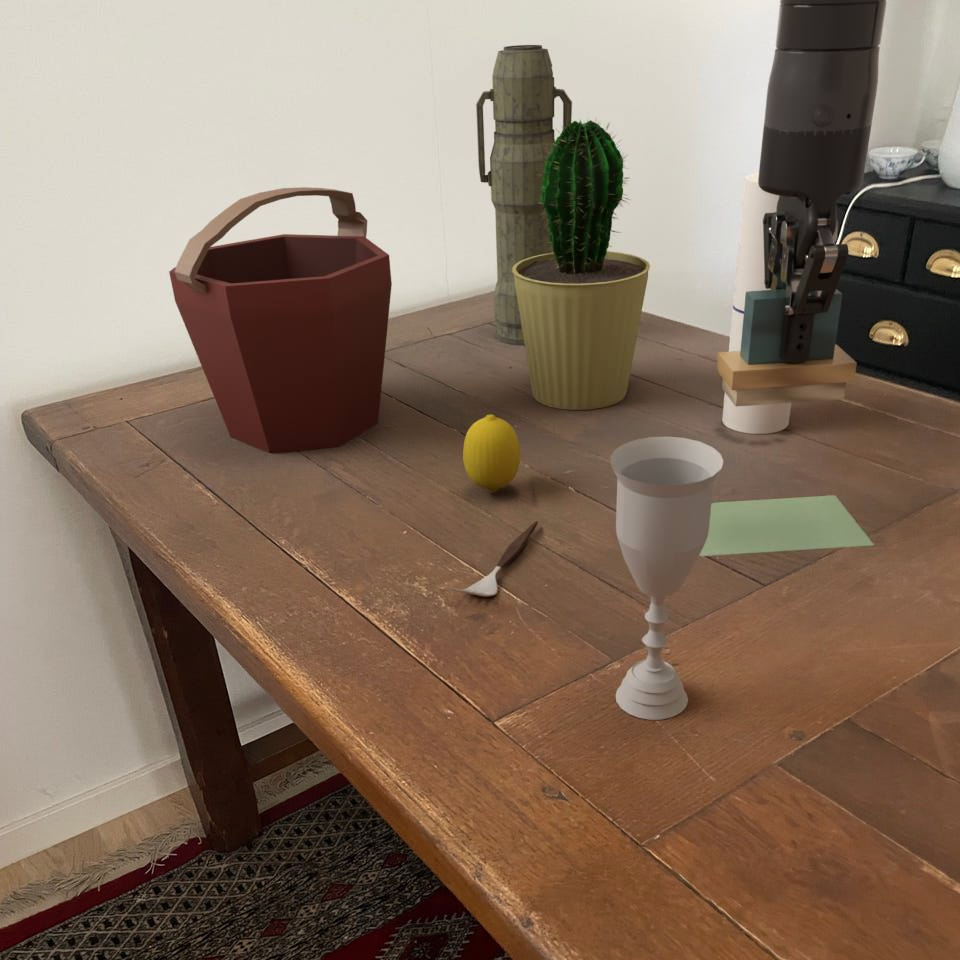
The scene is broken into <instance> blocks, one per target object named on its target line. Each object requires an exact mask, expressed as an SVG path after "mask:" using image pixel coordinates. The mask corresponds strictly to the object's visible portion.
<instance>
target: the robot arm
mask: <svg viewBox="0 0 960 960" xmlns="http://www.w3.org/2000/svg"><path fill="white" fill-rule="evenodd" d="M886 8H887V0H779V8H778V19H777V28H776V37H775V38H776V39H775V49H774V54H773V60H772V65H771V69H770V74H769V77H768V83H767V90H766V100H765V108H764V109H765V110H764V119H763V122H764V123H763V128H762V139H761V149H760V157H759V169H758V172H759V177H758V184H759V187H760V188H761V189H762V190H763V191H765V192H767V193H770V194H774V195H779V199H778V203H777V209H776V212H774V213H765V215H764V218H763V233H764V272H765V279H764V284H765V287H766V289H771V290H778V289H786V297H785V306H784V311H785V315H784V322H783V330H782V338H781V346H780V354H779V356H780V359H781V360H782V361H783V362H785V363H795V362H804V361H806V360H807V359H808V357H809V352H810V345H811V338H812V331H813V324H814V317H815V315H818V314H819V313H827V312H828V310H829V307H830V304H831V301H832V299H833V296H834V293H835V290H836V289H837V288H838V285H839V282H840V280H841V277H842V274H843V271H844V268H845V266H846V263H847V260H848V257H849V253H850V252H849V245H848V244H847V243H838V244H837V241H838V232H839V220H838V218H837V213H838V211H837V210H838V205H837V202H838V200H839V199H840V197H843V196H844V195H849V194H852V193H855V192H857V191H858V190H859V189H860V188H861V187H862V185H863V183H864V177H865V169H866V164H867V155H868V151H869V144H870V136H871V131H872V124H873V117H874V112H875V106H876V98H877V92H878V84H879V59H880V45H881V41H882V35H883V27H884V21H885V16H886V10H887V9H886ZM780 259H781V260H782V261H781V260H780ZM810 292H811V293H810ZM809 293H810V297H808V295H809Z"/></svg>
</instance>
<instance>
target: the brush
mask: <svg viewBox="0 0 960 960" xmlns="http://www.w3.org/2000/svg"><path fill="white" fill-rule="evenodd" d="M810 293H811V292H810ZM810 293H809V295H808V297H810ZM785 297H786V289H778V290H762V291H747V292H746V296H745V307H744V318H743V329H742V340H741V351H731V352H729V351H719V352H718V353H717V364H716V365H717V366H716V371H717V373H718V374H719V376H720V377H721V378H722V384H721V386H722V387H721V388H722V391H723V392H724V394H725V393H726V394H727V396H728V397H729V398H730V400H731V401H732V402H733V404H734V405H735V406H750V405H765V404H780V403H791V404H792V403H793V404H794V403H807V402H822V401H837V400H845V397H846V390H847V384H848V383H854V382H855V379H856V371H857V365H858V362H857V361H855V359H854V358H852V357H851V356H850V355H849V354H847V352H846V351H844V349H842V348H841V347H840V346H839V345H838V344H836V343H837V335H838V328H839V321H840V314H841V309H842V308H841V307H842V301H843V293H842V292H841V291H840V290H839V289H837V288H836V290H835V293H834V296H833V299H832V301H831V304H830V307H829V310H828V312H827V313H819V314H818V315H815V317H814V324H813V331H812V338H811V345H810V352H809V357H808V359H807V360H806V361H804V362H795V363H785V362H783V361H782V360H781V359H780V356H779V354H780V346H781V338H782V330H783V322H784V315H785V311H784V306H785Z"/></svg>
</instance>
